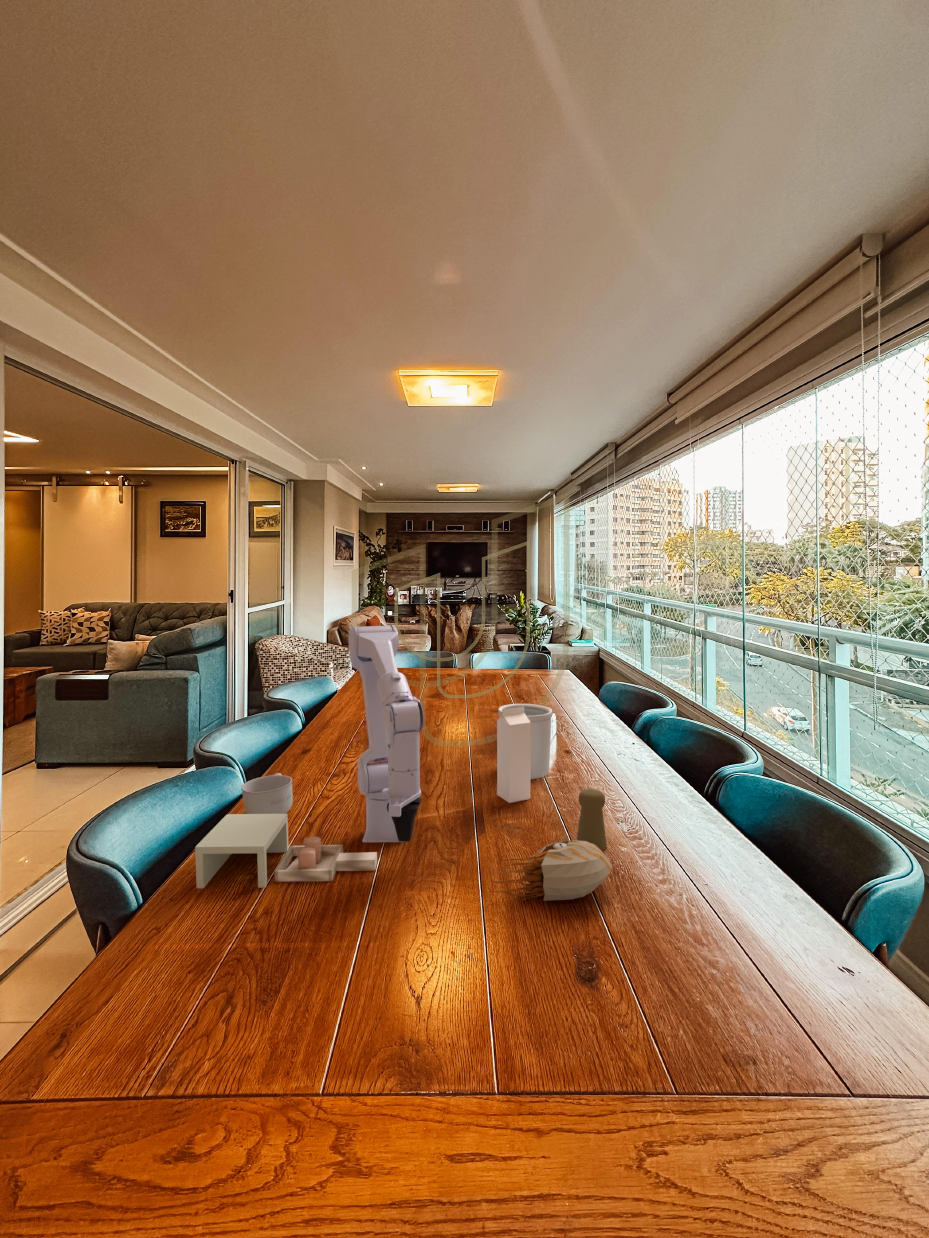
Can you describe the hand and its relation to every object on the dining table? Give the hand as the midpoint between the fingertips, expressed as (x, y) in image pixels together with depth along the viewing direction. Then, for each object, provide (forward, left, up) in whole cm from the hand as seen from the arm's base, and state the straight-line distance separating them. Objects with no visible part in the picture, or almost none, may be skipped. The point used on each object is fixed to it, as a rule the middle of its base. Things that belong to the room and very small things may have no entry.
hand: (404, 839), depth 107 cm
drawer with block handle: (+14, 0, -5) cm, 15 cm away
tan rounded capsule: (+17, -2, -5) cm, 18 cm away
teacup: (+33, -26, -6) cm, 42 cm away
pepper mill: (-36, -9, -6) cm, 38 cm away
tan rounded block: (+17, +2, -5) cm, 18 cm away
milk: (-23, -35, -6) cm, 43 cm away
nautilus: (-25, +8, -6) cm, 27 cm away
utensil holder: (-28, -54, -6) cm, 61 cm away
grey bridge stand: (+29, 0, -5) cm, 30 cm away
